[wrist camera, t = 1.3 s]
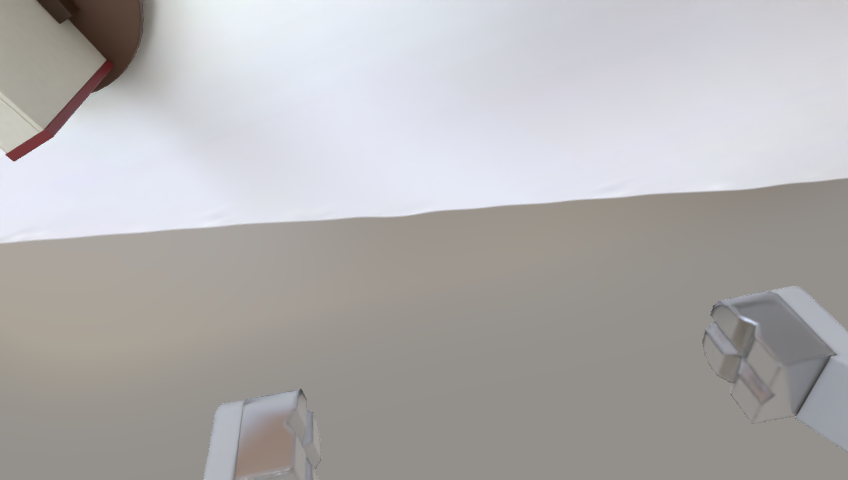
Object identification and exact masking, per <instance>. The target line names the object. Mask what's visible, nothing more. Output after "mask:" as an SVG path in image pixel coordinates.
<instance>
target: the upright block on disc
mask: <svg viewBox="0 0 848 480" xmlns="http://www.w3.org/2000/svg"><path fill="white" fill-rule="evenodd" d="M142 31H143V4H142V0H0V148H1V149H2V150H3V151H4V152H6V156H7V157H9V158H10V159H11V160H12V161H16V160H18V159H19V158H21V157H22V156H24V155H26V154H27V153H29V152H30V151H32V150H34V149H35V148H37V147H38V146H40V145H41V144H43V143H45V142H46V141H48V140H49V139H51V138H53V137H54V135H55V134H56V133H57V132H58V131H59V130H60V128H61V127H62V126H63V125H64V124H65V123H66V121H67V120H68V119H69V118H70V117H71V116H72V114H73V113H74V112H75V111H76V110H77V109H78V107H79V106H80V105H81V104H82V103H83V102H84V100H85V99H86V98H87V97H88V96H89V95H90V93H93V92H96V91H98V90H100V89H102V88H104V87H106V86H108V85H109V84H110V83H112V82H113V81H114V80H116V79H117V78H118V77H119V76H120V75H121V74H122V73H123V72H124V71H125V70H126V68H127V67H128V66H129V64H130V63H131V61H132V60H133V58H134V57H135V54H136V52H137V50H138V47H139V45H140V41H141V36H142Z"/></svg>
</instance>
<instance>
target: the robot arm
mask: <svg viewBox="0 0 848 480" xmlns="http://www.w3.org/2000/svg"><path fill="white" fill-rule="evenodd" d="M710 315H711V316H712V318H713V319H714V320H715V321H714V322H713V323H712V324H711V325H710V326H709V327H708V328H707V329H706V330H705V333H704V338H703V347H704V353H705V356H706V359H707V361H708V363H709V365H710V366H711V368H712V369H713V371H714V372H715V374H716V375H717V376H719V377H721V378H722V379H724V380H726V381H728V382H730V383H731V396H732V397H733V399H734V400H735V401H736V403H737V404H738V405H739V407H740V408H741V409H742V411H743V412H744V414H745V415H746V416H747V418H748V419H749V420H750V422H751V423H752V424H756V423H761V422H767V421H772V420H777V419H783V418H788V417H793V416H796V419H797V420H798V421H800V422H802V423H803V424H805V425H806V426H808V427H809V428H811V429H812V430H814V431H815V432H817V433H818V434H820V435H821V436H823V437H824V438H826V439H827V440H829V441H831V442H832V443H834V444H835V445H837V446H838V447H840V448H841V449H843V450H844V451H846V452H847V453H848V331H847V330H846V329H845V328H844V327H843V326H842V325H840V324H839V323H838V322H837V321H836V320H835V319H834V318H833V317H832V316H831V315H830V314H829V313H828V312H827V311H826V310H825V309H824V308H822V306H821V305H819V304H818V303H817V302H816V301H815V300H814V299H813V298H812V297H811V296H810V295H809V294H808V293H807V292H806V291H805V290H803V289H802V288H799V287H797V286H790V287H785V288H780V289H776V290H771V291H763V292H758V293H754V294H750V295H745V296H741V297H736V298H732V299H727V300H723V301H719V302H718V303H717V304H715V305H714V306H713V309H712V311H711V314H710ZM320 461H321V443H320V435H319V429H318V425H317V422H316V419H315V416H314V414H313V412H311V411H309V410H307V399H306V397H305V395H304V393H303V391H302V389H299V390H294V391H288V392H283V393H277V394H272V395H267V396H261V397H256V398H250V399H245V400H239V401H234V402H230V403H225V404H220V405H219V407H218V409H217V411H216V413H215V416H214V422H213V427H212V433H211V439H210V444H209V450H208V455H207V461H206V467H205V472H204V478H203V480H319V478H318V476H317V474H316V472H315V469H316V468H317V466H318V464H319V463H320Z"/></svg>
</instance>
